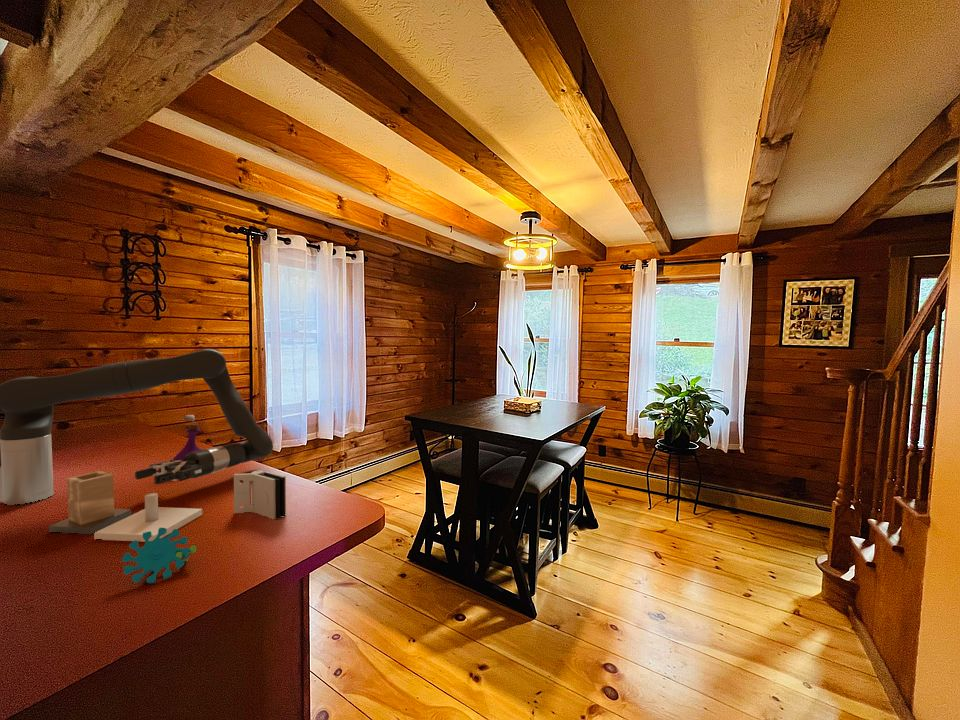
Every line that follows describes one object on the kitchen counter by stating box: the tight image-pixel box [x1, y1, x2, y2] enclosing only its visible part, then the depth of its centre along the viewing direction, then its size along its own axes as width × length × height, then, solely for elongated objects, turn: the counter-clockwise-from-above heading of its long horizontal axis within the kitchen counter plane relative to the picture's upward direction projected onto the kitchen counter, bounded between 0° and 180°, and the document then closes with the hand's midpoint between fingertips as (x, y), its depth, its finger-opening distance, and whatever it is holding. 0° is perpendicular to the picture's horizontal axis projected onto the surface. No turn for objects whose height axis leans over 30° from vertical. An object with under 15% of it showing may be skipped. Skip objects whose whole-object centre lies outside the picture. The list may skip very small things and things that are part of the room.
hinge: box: [233, 469, 287, 520], centre depth 104 cm, size 14×5×10 cm, turn 74°
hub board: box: [93, 492, 203, 543], centre depth 96 cm, size 14×14×8 cm
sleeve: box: [66, 470, 115, 525], centre depth 97 cm, size 6×6×10 cm
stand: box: [48, 508, 132, 535], centre depth 97 cm, size 10×10×10 cm
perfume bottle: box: [171, 414, 202, 461], centre depth 139 cm, size 8×8×18 cm
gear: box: [121, 528, 197, 584], centre depth 78 cm, size 11×6×10 cm
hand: (145, 478), depth 107 cm, fingers open, 8 cm apart
